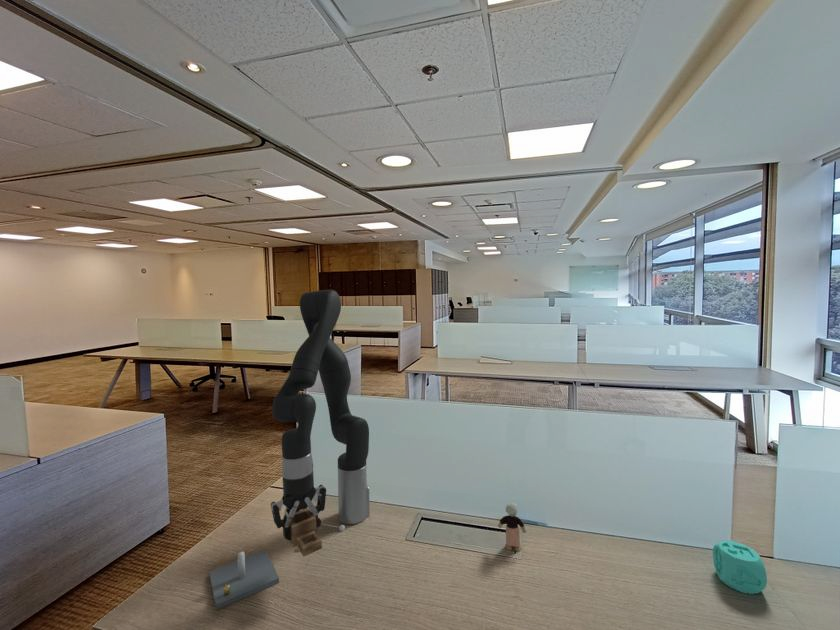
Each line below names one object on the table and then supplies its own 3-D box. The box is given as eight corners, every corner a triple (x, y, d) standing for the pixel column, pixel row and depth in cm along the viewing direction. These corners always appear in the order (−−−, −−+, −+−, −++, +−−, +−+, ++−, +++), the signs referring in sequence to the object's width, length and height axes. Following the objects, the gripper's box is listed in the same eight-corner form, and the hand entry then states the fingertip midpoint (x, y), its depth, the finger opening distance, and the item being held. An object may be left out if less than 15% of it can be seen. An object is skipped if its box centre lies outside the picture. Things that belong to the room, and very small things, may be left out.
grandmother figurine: (524, 543, 107) (524, 500, 107) (526, 552, 103) (526, 508, 103) (497, 541, 108) (497, 499, 107) (498, 550, 104) (498, 506, 103)
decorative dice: (767, 598, 87) (767, 565, 86) (725, 589, 89) (725, 557, 89) (750, 574, 94) (750, 544, 94) (712, 567, 97) (712, 537, 97)
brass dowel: (229, 591, 89) (229, 583, 89) (230, 594, 88) (230, 586, 88) (223, 593, 88) (223, 585, 88) (224, 596, 87) (224, 588, 87)
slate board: (266, 554, 104) (265, 529, 103) (279, 582, 93) (278, 554, 93) (209, 576, 96) (208, 549, 95) (216, 610, 85) (215, 579, 85)
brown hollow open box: (308, 525, 100) (307, 507, 100) (324, 547, 91) (323, 527, 91) (286, 534, 96) (285, 516, 96) (300, 558, 88) (299, 538, 87)
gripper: (319, 457, 102) (322, 515, 103) (264, 474, 93) (268, 537, 94) (330, 467, 96) (333, 529, 97) (272, 486, 87) (276, 554, 88)
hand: (301, 533), depth 96 cm, fingers closed on brown hollow open box, 6 cm apart
